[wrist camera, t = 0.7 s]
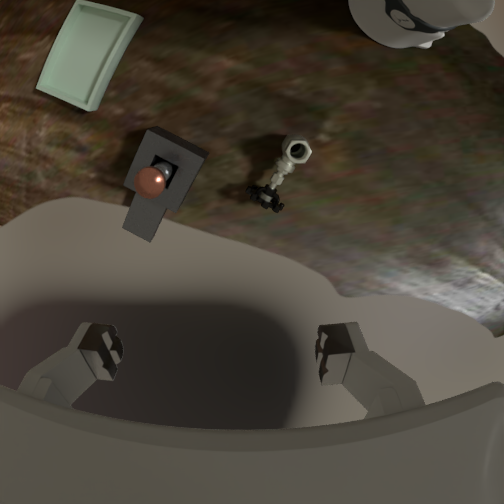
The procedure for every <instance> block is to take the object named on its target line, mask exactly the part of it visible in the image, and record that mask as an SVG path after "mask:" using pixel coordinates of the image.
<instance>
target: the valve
mask: <svg viewBox="0 0 504 504" xmlns="http://www.w3.org/2000/svg"><path fill="white" fill-rule="evenodd" d="M297 143H300V144H301V146H300V149H299V150H298V151H296V152H290V149H291V147H292V146H293V145H294V144H297ZM281 145H282V152H283V155H282V157H281V158H278V159H277V161H276V162H275V163H276V165H278V167H277V170H278V171H277V172H274V173H273V175H272V177H271V178H270V180H271V181H272V182H271V183H270V185H268V184H266V186H265V187H260V188H258V187H257V186H255V185H253V186H252V187H251V186H248V188H247V189H246V193H247V194H249V195H251V196H250V199H251V200H253V201H258V202H260V203H261V206H262V207H263V208H265V209H268V207H270V208H272V210H273V211H274V212H276V213H278V212H279V210H282V209H283V207H284V204H283V203H280V205H279V204H278V203H279V200H280V199H279V196H278V194H277V193H276V192H277V190H276V189H275V187H276V186H277V184H278V185H280V184H281V183H282V181H283V179H284V177H283V175H284V174H287V173H288V172H290V173H292V172H293V170H294V169H295V167H294V165H295V163H305V162H306V161H307V159H308V158H309V156H310V154H311V153H312V151H311V150H310V148H309V144H308V142H307V140H306V139H305V138H304V137H302V136H300V135H287V136H286V138H285V139H284V141H283V143H282V144H281ZM257 188H258V189H257ZM259 195H261V196H259ZM270 201H271V202H272V203H270Z"/></svg>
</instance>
